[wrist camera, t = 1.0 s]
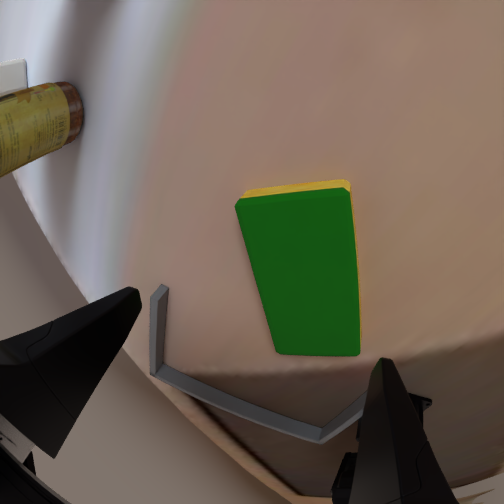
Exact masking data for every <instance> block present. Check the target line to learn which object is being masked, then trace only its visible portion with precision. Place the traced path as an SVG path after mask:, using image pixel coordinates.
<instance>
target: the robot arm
mask: <svg viewBox="0 0 504 504" xmlns="http://www.w3.org/2000/svg"><path fill="white" fill-rule="evenodd" d="M141 309H142V303H141V298H140V293H139V290H138V289H136V288H133V287H126V288H124V289H121V290H119V291H117V292H115V293H113V294H110V295H108V296H106V297H104V298H101V299H99V300H97V301H95V302H92V303H90V304H88V305H86V306H84V307H81V308H79V309H77V310H75V311H73V312H70V313H68V314H66V315H64V316H62V317H59V318H57V319H55V320H54V321H51V322H48V323H46V324H44V325H42V326H39V327H37V328H35V329H32V330H30V331H27V332H24V333H21V334H19V335H16V336H13V337H11V338H8V339H5V340H1V341H0V504H71V503H69V502H68V501H67V500H65V499H64V498H63V497H61V496H60V495H59V494H57V493H56V492H55V491H53V490H52V489H51V488H50V487H48V486H47V485H46V484H45V483H43V482H42V481H41V480H40V479H39V478H38V477H36V472H35V466H34V460H33V454H32V451H31V450H32V449H33V447H34V446H35V445H36V446H38V447H39V448H40V449H41V450H43V451H44V452H45V453H46V454H48V455H49V456H51V457H52V458H53V459H54V458H55V457H56V455H57V454H58V452H59V450H60V448H61V446H62V445H63V443H64V441H65V439H66V438H67V436H68V434H69V432H70V431H71V429H72V427H73V425H74V423H75V422H76V420H77V418H78V417H79V415H80V413H81V411H82V410H83V408H84V406H85V405H86V403H87V401H88V400H89V398H90V396H91V395H92V393H93V391H94V390H95V388H96V386H97V385H98V383H99V382H100V380H101V378H102V377H103V375H104V373H105V372H106V370H107V369H108V367H109V366H110V364H111V362H112V361H113V359H114V358H115V356H116V355H117V353H118V352H119V350H120V348H121V347H122V345H123V344H124V342H125V340H126V339H127V337H128V335H129V333H130V331H131V329H132V327H133V325H134V323H135V321H136V319H137V317H138V315H139V313H140V311H141ZM431 405H432V400H431V399H428V398H424V397H421V396H417V395H414V394H410V393H408V392H407V390H406V388H405V386H404V383H403V381H402V379H401V377H400V375H399V373H398V371H397V368H396V366H395V364H394V362H393V361H392V360H391V359H388V358H383V357H382V358H380V359H379V361H378V362H377V364H376V366H375V367H374V369H373V371H372V373H371V376H370V381H369V386H368V391H367V396H366V400H365V405H364V410H363V415H362V416H361V417H360V418H359V421H358V429H357V435H356V440H357V441H358V442H359V447H358V453H351V452H347V453H345V456H344V459H343V460H342V463H341V465H340V468H339V470H338V473H337V476H336V478H335V481H334V483H333V486H332V489H331V494H332V502H333V504H459V503H458V501H457V500H456V498H455V496H454V494H453V492H452V490H451V488H450V486H449V484H448V482H447V480H446V478H445V476H444V475H443V473H442V471H441V468H440V466H439V464H438V462H437V460H436V458H435V456H434V453H433V451H432V448H431V446H430V443H429V441H427V436H426V434H425V431H424V429H423V411H424V410H426V409H427V408H428V407H430V406H431Z"/></svg>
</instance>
